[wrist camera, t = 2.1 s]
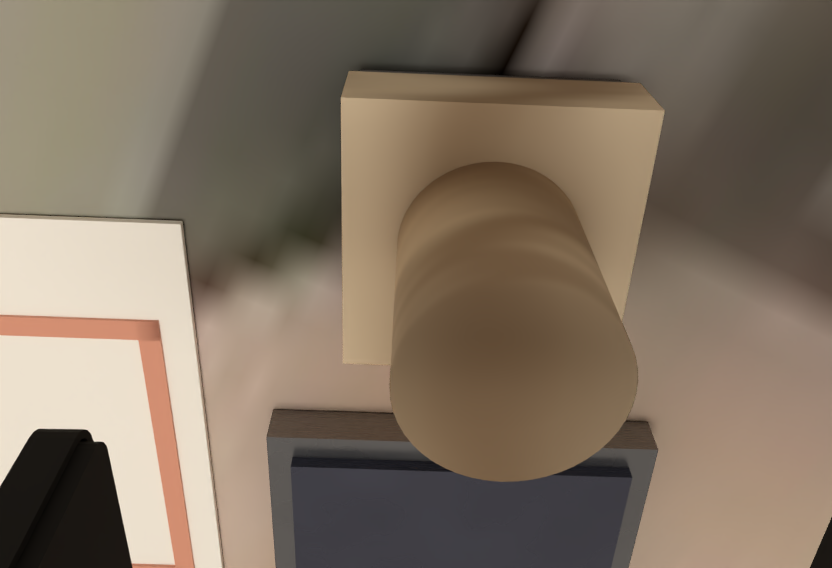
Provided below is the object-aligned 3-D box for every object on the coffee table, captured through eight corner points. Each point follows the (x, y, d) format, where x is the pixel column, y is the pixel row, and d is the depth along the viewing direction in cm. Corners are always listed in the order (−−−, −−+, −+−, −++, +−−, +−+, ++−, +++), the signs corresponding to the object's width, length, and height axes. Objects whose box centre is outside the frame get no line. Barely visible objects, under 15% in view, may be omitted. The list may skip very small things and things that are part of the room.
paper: (182, 220, 20) (179, 225, 20) (231, 629, 28) (229, 637, 28) (-297, 202, 20) (-307, 207, 19) (-110, 619, 28) (-115, 627, 27)
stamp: (629, 70, 18) (760, 217, 11) (587, 307, 21) (669, 536, 14) (351, 59, 18) (309, 200, 11) (352, 298, 21) (318, 525, 14)
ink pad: (647, 422, 23) (662, 459, 22) (595, 639, 28) (604, 682, 27) (273, 409, 23) (264, 446, 21) (287, 631, 28) (280, 673, 26)
